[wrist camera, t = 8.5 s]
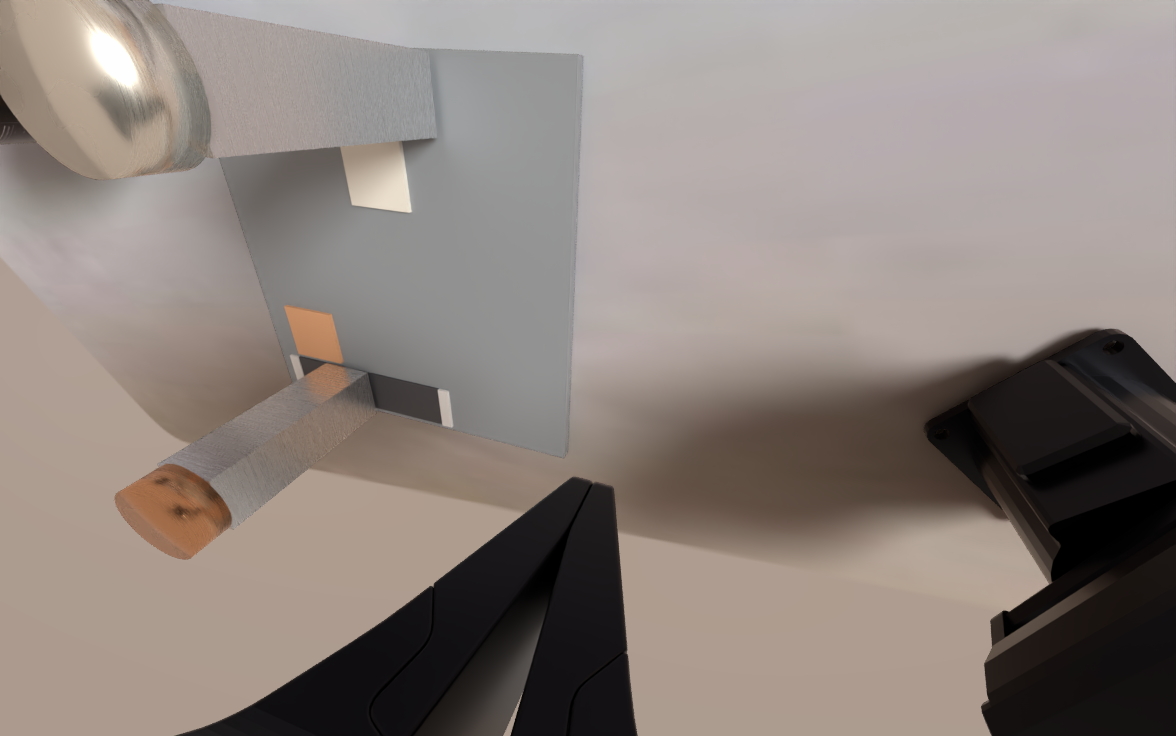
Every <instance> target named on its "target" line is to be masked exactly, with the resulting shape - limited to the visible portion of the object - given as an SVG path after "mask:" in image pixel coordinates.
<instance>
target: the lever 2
mask: <svg viewBox="0 0 1176 736" xmlns="http://www.w3.org/2000/svg"><path fill="white" fill-rule="evenodd" d="M376 413H377V412H376V407H375V403H374V399H373V394H372V390H371V385H370V381H369V376H368V372H363V371H359V370H355V369H351V368H346V367H342V366H338V365H333V364H329V363H326V364H324V365H322V366H320V367H319V368H317V369H315V370H314V371H312V372H310V373H309V374H307V375H305V376H304V377H302V378H300V379H299V380H297V381H295V382H294V383H292V384H290V385H289V386H287V387H285V388H284V389H282V390H280V391H279V392H277V393H275V394H274V395H272V396H270V397H269V398H267V399H265V400H264V401H262V402H260V403H259V404H257V405H255V406H254V407H252V408H250V409H249V410H247V411H245V412H244V413H242V414H240V415H239V416H237V417H235V418H234V419H232V420H230V421H229V422H227V423H225V424H224V425H222V426H220V427H219V428H217V429H215V430H214V431H212V432H210V433H209V434H207V435H205V436H204V437H202V438H200V439H199V440H197V441H195V442H193V443H192V444H190V445H188V446H187V447H185V448H183V449H182V450H180V451H178V452H177V453H175V454H174V455H172V456H170V457H168V458H167V459H165V460H163V461H162V462H160V463H159V464H157V465H158V467H159V468H157V469H156V470H154V471H153V472H151V473H149V474H148V475H146V476H144V477H143V478H141V479H139V480H138V481H136V482H134V483H133V484H131V485H129V486H128V487H126V488H124V489H123V490H121V491H120V492H118V493H117V494H116V495H115V503H116V506H117V508H118V510H119V512H120V513H121V515H122V516H123V518H124V519H125V520H126V521H127V523H128V524H129V525H130V526H131V527H132V528H133V529H134V530H135V531H136V532H137V533H138V534H139V535H140V536H141V537H143V538H144V539H145V540H146V541H147V542H149V543H150V544H151V545H153V546H154V547H156V548H157V549H159V550H161V551H163V552H164V553H166V554H168V555H170V556H172V557H175V558H179V559H190V558H191V557H193V556H194V555H195V554H197V553H198V552H199V551H200V550H202V549H203V548H204V547H205V546H207V545H208V544H209V543H210V542H211V541H213V540H214V539H215V538H216V537H218V536H219V535H220V534H222V533H223V532H224V531H225V530H226V529H228V528H230V529H235V528H236V527H237V526H238V525H239V524H241V523H242V522H243V521H244V520H246V519H247V518H248V517H249V516H251V515H252V514H253V513H254V512H255V511H257V510H258V509H259V508H260V507H262V506H263V505H264V504H265V503H266V502H268V501H269V500H270V499H272V498H273V497H274V496H275V495H276V494H278V493H279V492H280V491H281V490H282V489H284V488H285V487H286V486H287V485H289V484H290V483H291V482H292V481H293V480H295V479H296V478H297V477H298V476H300V475H301V474H302V473H304V472H305V471H306V470H307V469H308V468H310V467H311V466H312V465H313V464H315V463H316V462H317V461H318V460H320V459H321V458H322V457H323V456H324V455H326V454H327V453H328V452H329V451H331V450H332V449H333V448H334V447H336V446H337V445H338V444H339V443H340V442H342V441H343V440H344V439H345V438H347V437H348V436H349V435H350V434H352V433H353V432H354V431H355V430H356V429H358V428H359V427H360V426H361V425H363V424H364V423H365V422H366V421H368V420H369V419H370V418H371V417H372V416H374V415H375V414H376Z"/></svg>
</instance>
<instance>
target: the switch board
mask: <svg viewBox="0 0 1176 736" xmlns="http://www.w3.org/2000/svg"><path fill="white" fill-rule="evenodd" d="M413 49H419V50H424V51H429V59H430V69H431V79H432V89H433V98H434V108H435V118H436V128H437V137H438V138H427V139H417V140H406V141H395V142H384V143H373V144H362V145H351V146H340V147H329V148H318V149H307V150H296V151H286V152H275V153H264V154H253V155H242V156H231V157H220V158H219V159H220V162H221V165H222V169H223V172H224V175H225V178H226V181H227V184H228V187H229V190H230V193H231V196H232V199H233V202H234V205H235V208H236V211H237V214H238V217H239V221H240V224H241V227H242V230H243V233H244V236H245V239H246V242H247V245H248V248H249V251H250V254H251V257H252V260H253V263H254V266H255V269H256V273H257V276H258V279H259V282H260V285H261V288H262V291H263V294H264V297H265V300H266V303H267V306H268V309H269V312H270V315H271V318H272V321H273V325H274V328H275V331H276V334H277V337H278V340H279V343H280V346H281V349H282V352H283V355H284V358H285V361H286V364H287V367H288V370H289V373H290V377H291V380H292V383H294V382H295V381H297V380H299V379H300V378H302V377H304V376H305V375H307V374H309V373H310V372H312V371H314V370H315V369H317V368H319V367H320V366H322V365H324V364H326V363H329V364H333V365H338V366H342V367H346V368H351V369H355V370H359V371H363V372H368V376H369V381H370V385H371V390H372V394H373V399H374V403H375V407H376V411H380V412H384V413H388V414H392V415H396V416H400V417H404V418H408V419H412V420H416V421H419V422H423V423H427V424H431V425H435V426H439V427H443V428H447V429H451V430H455V431H459V432H463V433H467V434H470V435H474V436H478V437H482V438H486V439H490V440H494V441H498V442H502V443H506V444H510V445H514V446H518V447H521V448H525V449H529V450H533V451H537V452H541V453H545V454H549V455H553V456H557V457H561V458H564V457H565V456H566V454H567V452H568V432H569V407H570V381H571V356H572V331H573V305H574V280H575V254H576V229H577V204H578V178H579V153H580V128H581V102H582V77H583V56H582V55H579V54H558V53H531V52H505V51H479V50H452V49H426V48H413Z"/></svg>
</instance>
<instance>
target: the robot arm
mask: <svg viewBox="0 0 1176 736" xmlns="http://www.w3.org/2000/svg"><path fill="white" fill-rule="evenodd" d="M1111 341H1116V343H1115V345H1113V346H1112V347H1111V348H1108V349H1103V347H1104V345H1106V344H1107V343H1108V342H1111ZM940 429H946V431H944V432H943V433H940V434H936V433H935V432H936V431H937V430H940ZM924 433H925V435H926V436H927V438H928V440H929V441H930V442H931V443H932V444H933V445H934V446H935V447H936V448H937V449H938V450H940V451H941V452H942V453H943V454H944V455H945V456H946V457H947V458H948V459H949V460H950V461H951V462H952V463H953V464H954V465H955V466H956V467H958V468H959V469H960V470H961V471H962V472H963V473H964V474H965V475H966V476H967V477H968V478H969V479H970V480H971V481H972V482H973V483H974V484H976V485H977V486H978V487H979V488H980V489H981V490H982V491H983V492H984V493H985V494H986V495H987V496H988V497H989V498H990V499H991V500H992V501H994V502H995V503H996V504H997V505H998V506H999V507H1000V508H1001V509H1002V510H1003V511H1004V512H1005V514H1006V516H1007V517H1008V519H1009V520H1010V522H1011V524H1012V525H1013V527H1014V528H1015V530H1016V532H1017V533H1018V535H1019V536H1020V538H1021V539H1022V541H1023V543H1024V544H1025V546H1026V547H1027V549H1028V551H1029V552H1030V554H1031V555H1032V557H1033V559H1034V560H1035V562H1036V563H1037V565H1038V567H1039V568H1040V570H1041V571H1042V573H1043V574H1044V576H1045V578H1046V579H1047V581H1048V582H1049V585H1048V586H1046V587H1045V588H1043V589H1042V590H1040V591H1039V592H1037V593H1036V594H1034V595H1033V596H1032V597H1030V598H1029V599H1027V600H1026V601H1024V602H1023V603H1021V604H1020V605H1018V606H1017V607H1015V608H1014V609H1013V610H1011V611H1010V612H1009V611H1002V612H1001V613H999V614H998V615H996V616H995V617H993V618H992V619H991V621H990V622H991V637H992V649H991V651H990V653H989V655H988V657H987V660H986V661H985V663H984V667H985V677H986V688H987V696H988V699H989V700H988V701H986V702H984V703H983V704H982V706H981V709H982V714H983V716H984V719H985V722H986V724H987V726H988V729H989V731H990V733H991V735H992V736H1176V383H1175V382H1174V381H1173V380H1172V379H1171V378H1170V377H1169V376H1168V375H1167V374H1166V372H1165V371H1164V370H1163V369H1162V368H1161V367H1160V366H1159V365H1158V364H1157V363H1156V362H1155V361H1154V360H1153V359H1152V358H1151V357H1150V356H1149V355H1148V354H1147V353H1146V352H1145V350H1144V349H1143V348H1142V347H1141V346H1140V345H1139V344H1138V343H1137V342H1136V341H1135V340H1134V339H1133V338H1132V337H1130V336H1128V335H1127V334H1125V333H1124V332H1122V331H1120V330H1117V329H1105V330H1101V331H1099V332H1096V333H1094V334H1092V335H1090V336H1089V337H1087V338H1085V339H1083V340H1081V341H1079V342H1077V343H1075V344H1073V345H1072V346H1070V347H1068V348H1066V349H1064V350H1062V351H1060V352H1058V353H1056V354H1055V355H1053V356H1051V357H1049V358H1047V359H1045V360H1043V361H1040V362H1038V363H1036V364H1034V365H1032V366H1030V367H1029V368H1027V369H1025V370H1023V371H1021V372H1019V373H1017V374H1015V375H1013V376H1012V377H1010V378H1008V379H1006V380H1004V381H1002V382H1000V383H998V384H997V385H995V386H993V387H991V388H989V389H987V390H985V391H983V392H981V393H980V394H978V395H976V396H974V397H972V398H971V399H970V400H968V401H966V402H964V403H962V404H960V405H958V406H956V407H955V408H953V409H951V410H949V411H947V412H945V413H943V414H941V415H939V416H938V417H936V418H934V419H932V420H930V421H929V422H927V423H926V424H925V426H924ZM522 692H523V694H522ZM521 695H522V697H521V701H520V704H519V708H518V711H517V715H516V718H515V722H514V726H513V729H512V732H511V736H638V735H637V731H636V730H637V729H636V724H635V719H634V709H633V701H632V692H631V683H630V674H629V661H628V655H627V640H626V627H625V615H624V604H623V591H622V580H621V567H620V555H619V543H618V531H617V519H616V507H615V495H614V488H613V487H612V486H610V485H606V484H602V483H598V482H595V483H592V482H591V481H590V480H587V479H583V478H579V477H572V478H570V479H569V480H568V481H566V482H565V483H564V484H562V485H561V486H560V487H558V488H557V489H556V490H555V491H553V492H552V493H551V494H549V495H548V496H547V497H545V498H544V499H543V500H542V501H540V502H539V503H538V504H536V505H535V506H534V507H532V508H531V509H530V510H529V511H527V512H526V513H525V514H523V515H522V516H521V517H520V518H518V519H517V520H516V521H514V522H513V523H512V524H511V525H509V526H508V527H507V528H505V529H504V530H503V531H501V532H500V533H499V534H497V535H496V536H495V537H494V538H492V539H491V540H490V541H488V542H487V543H486V544H484V545H483V546H482V547H480V548H479V549H478V550H477V551H475V552H474V553H473V554H471V555H470V556H469V557H468V558H466V559H465V560H464V561H462V562H461V563H460V564H458V565H457V566H456V567H455V568H453V569H452V570H451V571H449V572H448V573H447V574H445V575H444V576H443V577H441V578H440V579H439V580H438V581H436V582H435V583H434V588H433V587H432V586H429V588H427V589H426V590H424V591H423V592H422V593H420V594H419V595H418V596H417V597H415V598H414V599H413V600H411V601H410V602H409V603H407V604H406V605H405V606H403V607H402V608H400V609H399V610H398V611H396V612H395V613H393V614H392V615H391V616H389V617H388V618H387V619H385V620H384V621H382V622H381V623H379V624H378V625H377V626H375V627H374V628H372V629H370V630H369V631H367V632H366V633H364V634H363V635H361V636H360V637H358V638H357V639H355V640H354V641H352V642H351V643H349V644H348V645H346V646H345V647H343V648H341V649H340V650H338V651H337V652H335V653H334V654H332V655H330V656H329V657H327V658H326V659H324V660H323V661H321V662H319V663H318V664H316V665H315V666H313V667H312V668H310V669H308V670H307V671H305V672H304V673H302V674H301V675H299V676H297V677H296V678H294V679H293V680H291V681H290V682H288V683H286V684H285V685H283V686H282V687H280V688H278V689H277V690H275V691H274V692H272V693H271V694H269V695H268V696H266V697H264V698H263V699H261V700H259V701H257V702H256V703H254V704H252V705H250V706H249V707H247V708H245V709H243V710H241V711H239V712H237V713H236V714H233V715H231V716H229V717H227V718H224V719H222V720H220V721H218V722H216V723H212V724H210V725H208V726H205V727H202V728H199V729H196V730H193V731H190V732H186V733H183V734H179V735H176V736H503V735H504V733H505V730H506V728H507V726H508V724H509V721H510V719H511V717H512V715H513V712H514V710H515V708H516V706H517V703H518V701H519V699H520V696H521Z"/></svg>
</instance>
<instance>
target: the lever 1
mask: <svg viewBox="0 0 1176 736" xmlns="http://www.w3.org/2000/svg"><path fill="white" fill-rule="evenodd" d="M0 95H1V96H2V98H3V100H4V101H5V103H6V104H7V106H8V107H9V108H10V110H11V111H12V113H13V114H14V115H15V117H16V118H17V119H18V121H19V122H20V123H21V124H22V126H23V127H24V128H25V129H26V130H27V132H28V133H29V134H30V135H31V136H32V137H33V138H34V139H35V140H36V141H37V142H38V143H39V145H40V146H41V147H42V148H44V149H45V150H46V151H47V152H48V153H49V154H50V155H51V156H53V157H54V158H55V159H56V160H58V161H59V162H60V163H61V164H63V165H65V166H66V167H68V168H69V169H71V170H72V171H74V172H76V173H78V174H80V175H83V176H85V177H88V178H92V179H96V180H108V179H117V178H126V177H135V176H144V175H153V174H163V173H172V172H181V171H187V170H191V169H193V168H195V167H196V166H198V165H199V164H200V163H201V162H202V160H203V159H204V158H205V157H209V158H220V157H231V156H242V155H253V154H264V153H275V152H286V151H296V150H307V149H318V148H329V147H340V146H351V145H362V144H373V143H384V142H395V141H406V140H417V139H427V138H438V137H437V128H436V118H435V108H434V98H433V89H432V79H431V69H430V59H429V51H424V50H419V49H413V48H407V47H402V46H396V45H391V44H385V43H379V42H374V41H368V40H363V39H357V38H351V37H346V36H340V35H335V34H329V33H323V32H318V31H312V30H307V29H301V28H295V27H290V26H284V25H278V24H273V23H267V22H262V21H256V20H250V19H245V18H239V17H234V16H228V15H222V14H217V13H211V12H206V11H200V10H194V9H189V8H183V7H178V6H172V5H166V4H152V3H151V2H150V1H149V0H0Z"/></svg>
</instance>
